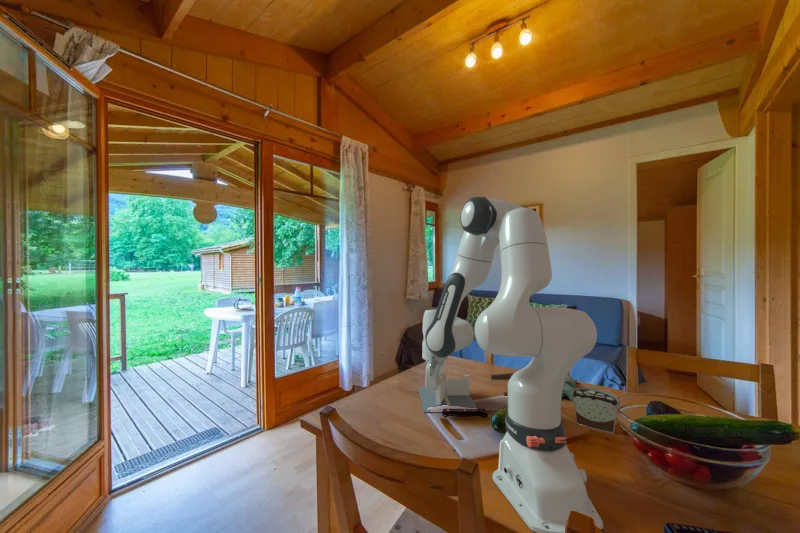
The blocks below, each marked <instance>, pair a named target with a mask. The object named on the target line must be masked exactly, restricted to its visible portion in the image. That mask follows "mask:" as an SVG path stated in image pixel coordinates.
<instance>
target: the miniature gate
mask: <svg viewBox="0 0 800 533" xmlns="http://www.w3.org/2000/svg"><path fill="white" fill-rule="evenodd" d="M514 373H515V372H505V373H503V372H502V373H492V374H490V379H491V380H492V381H493V380H495V381H496V380H498V381H499V380H504V381H505V380H508V381H509V379H510V378H511V376H512V375H513V374H514ZM577 385H579V386H580V385H581V383H580V382H578V380H577V379H574V378H573V377H572V376H570V375H569V374H568V375H567V377H566V379H565V382H564V385H563V390H562V398H563V397H566V398H567V399H569V400H570V401H571V402H572V403H574V401H573V396H572V397H571V394H572V392H573V390H574V389H576V388H578V387H577ZM504 396H508V391H503V397H504Z"/></svg>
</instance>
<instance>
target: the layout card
mask: <svg viewBox="0 0 800 533" xmlns="http://www.w3.org/2000/svg"><path fill="white" fill-rule="evenodd" d="M417 389H418V393H419V397H420V402H421V407H422V409H423V414H427V413H426V412H430V411H431V410H428V409H427V408H429V407H437V406H442V405H448V406H460V407H465V408H466V407H467V408H478V407H477V405H476V403H475V402H474V400H473V398H472V397H471V395H470V394H469V395H456V396H449V395H448V385H447V395H446V396H445V397H444V399H443V401H442V404H441V405H436V394H433V393H432V392H431V390H427V389H426V388H425V386H418V388H417ZM427 410H428V411H427Z"/></svg>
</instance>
